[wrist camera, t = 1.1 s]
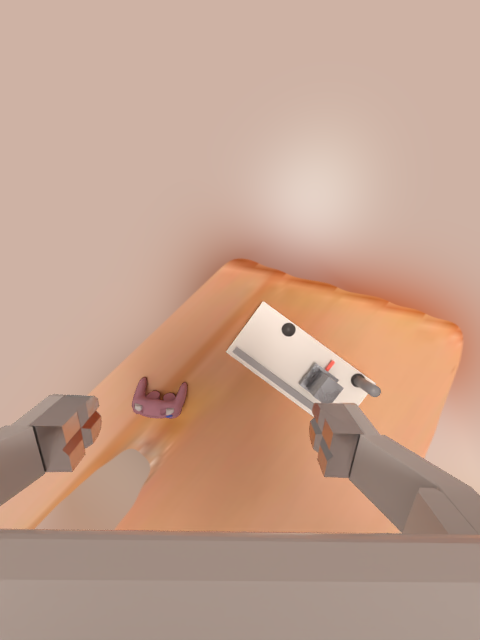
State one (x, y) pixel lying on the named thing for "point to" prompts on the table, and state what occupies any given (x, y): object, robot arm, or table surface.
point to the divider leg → (321, 383)
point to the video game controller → (158, 402)
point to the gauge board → (293, 359)
